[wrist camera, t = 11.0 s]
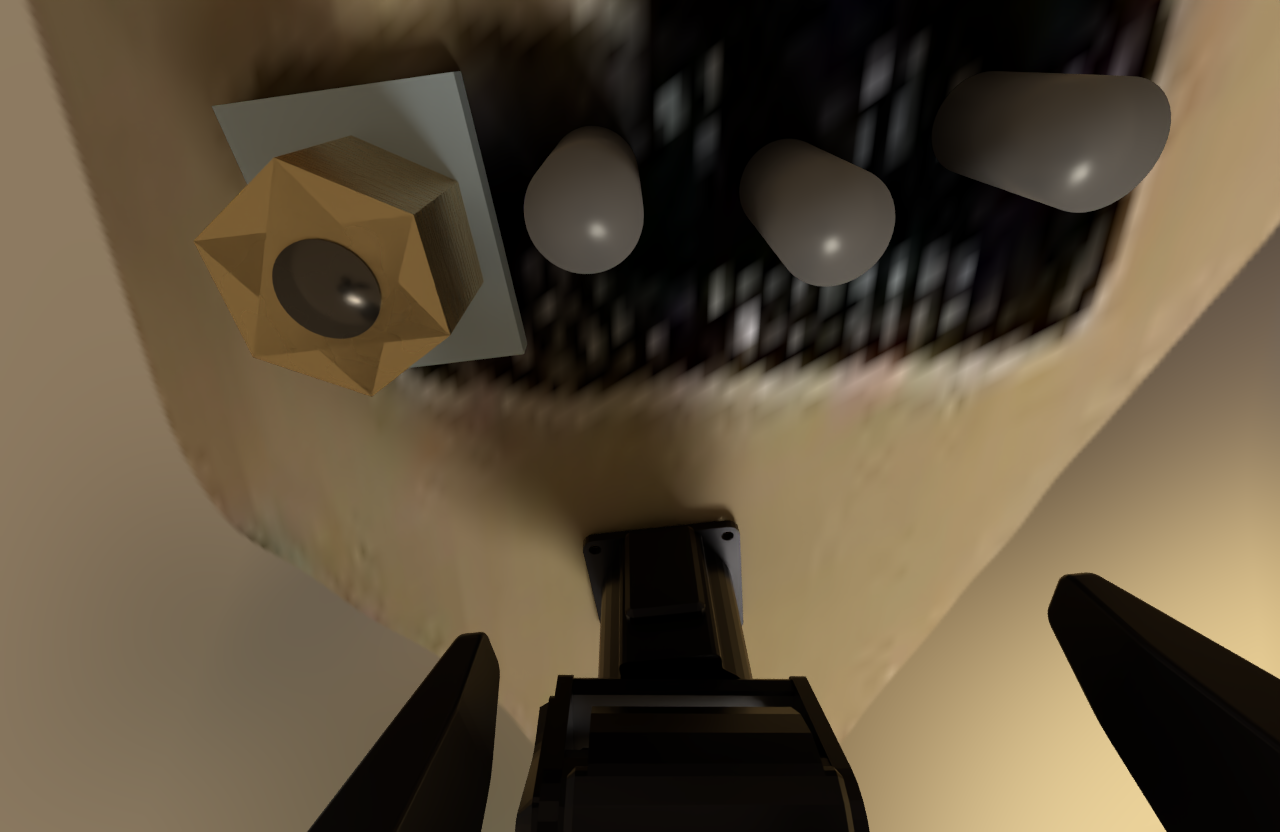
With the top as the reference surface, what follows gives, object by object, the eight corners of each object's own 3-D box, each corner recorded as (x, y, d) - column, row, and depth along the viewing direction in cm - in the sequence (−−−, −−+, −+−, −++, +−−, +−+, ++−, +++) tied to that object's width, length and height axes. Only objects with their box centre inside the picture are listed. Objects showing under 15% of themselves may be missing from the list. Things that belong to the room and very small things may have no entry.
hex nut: (495, 325, 18) (465, 387, 15) (342, 342, 19) (277, 407, 15) (443, 123, 15) (390, 143, 12) (260, 146, 15) (155, 172, 12)
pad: (527, 343, 20) (523, 354, 19) (344, 365, 20) (334, 376, 19) (460, 71, 15) (453, 71, 15) (229, 104, 16) (211, 106, 15)
